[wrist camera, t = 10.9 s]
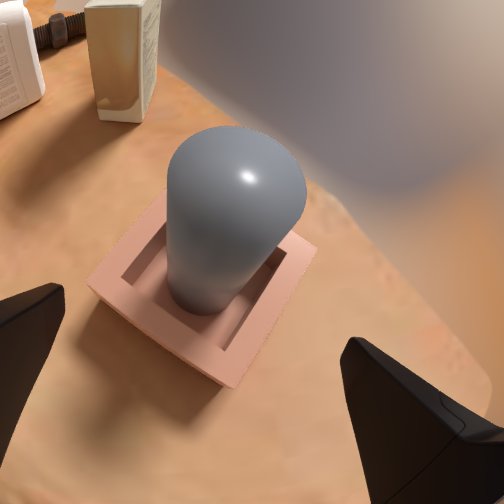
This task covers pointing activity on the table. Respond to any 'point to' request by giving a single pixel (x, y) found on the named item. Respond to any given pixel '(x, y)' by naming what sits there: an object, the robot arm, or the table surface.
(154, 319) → the tray
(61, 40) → the bolt
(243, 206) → the grey dome-topped post
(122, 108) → the skincare box
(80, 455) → the table surface
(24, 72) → the photo printer
